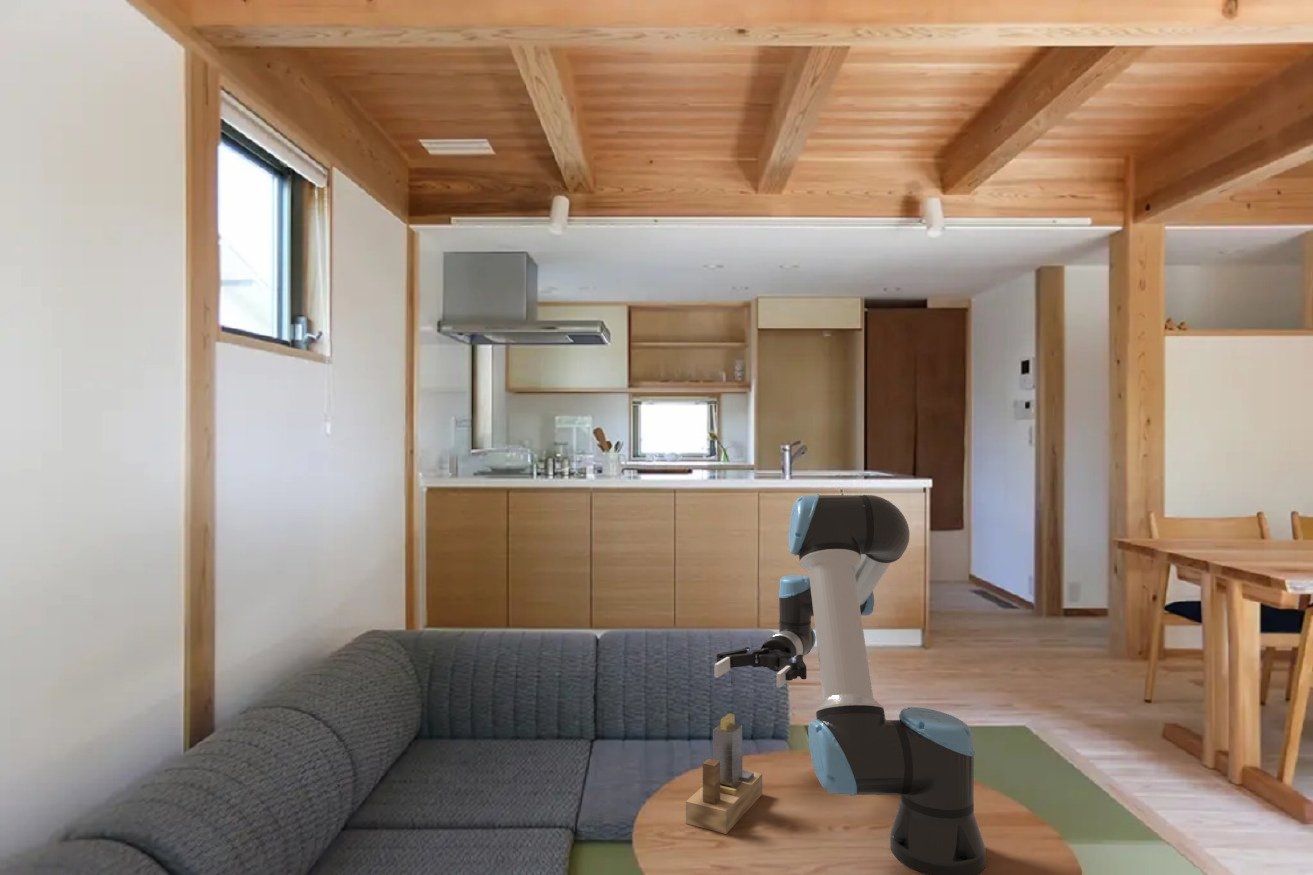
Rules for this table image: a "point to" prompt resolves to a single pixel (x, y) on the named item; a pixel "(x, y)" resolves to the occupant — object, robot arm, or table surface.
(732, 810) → the body
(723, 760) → the grey metal pillar
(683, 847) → the table surface
